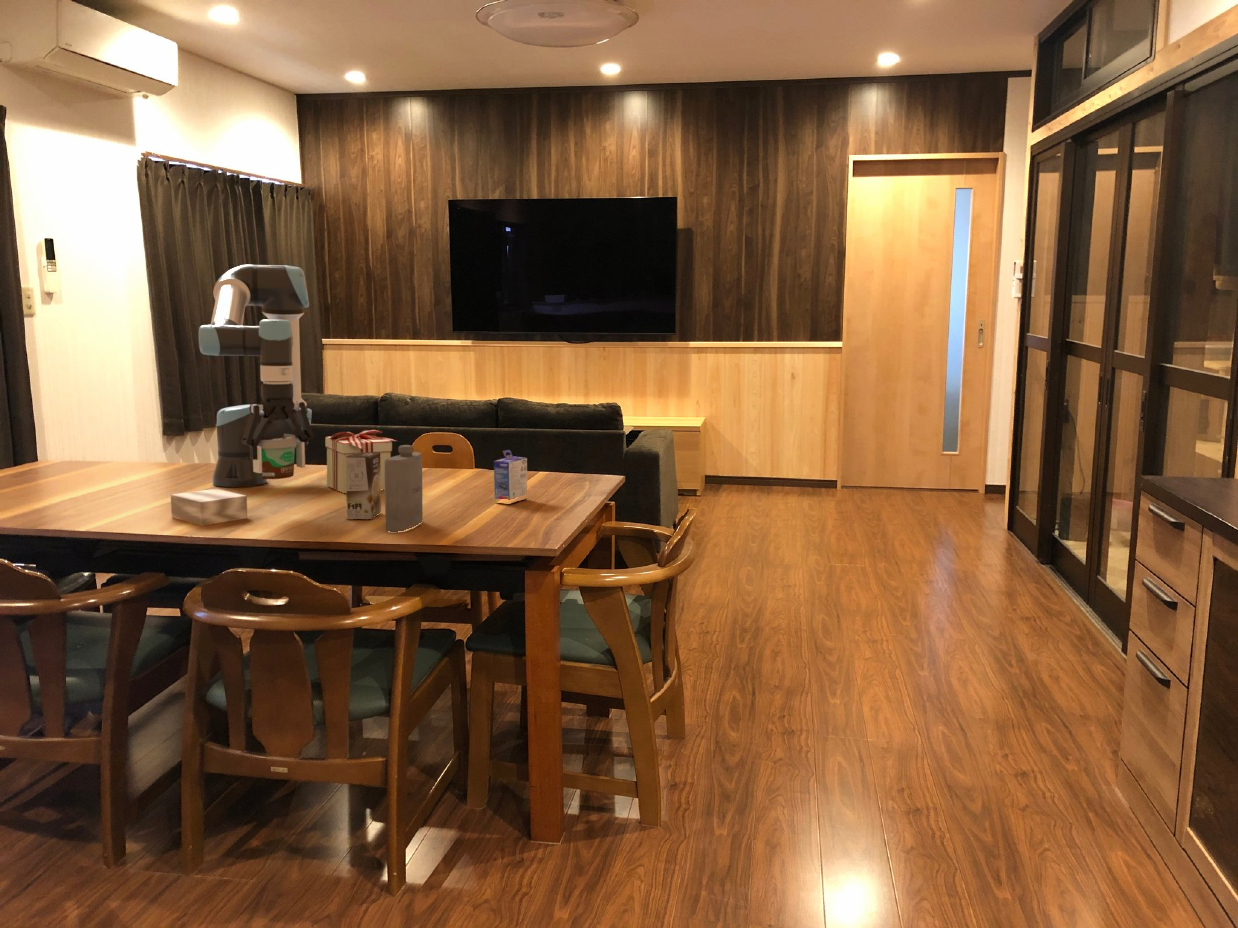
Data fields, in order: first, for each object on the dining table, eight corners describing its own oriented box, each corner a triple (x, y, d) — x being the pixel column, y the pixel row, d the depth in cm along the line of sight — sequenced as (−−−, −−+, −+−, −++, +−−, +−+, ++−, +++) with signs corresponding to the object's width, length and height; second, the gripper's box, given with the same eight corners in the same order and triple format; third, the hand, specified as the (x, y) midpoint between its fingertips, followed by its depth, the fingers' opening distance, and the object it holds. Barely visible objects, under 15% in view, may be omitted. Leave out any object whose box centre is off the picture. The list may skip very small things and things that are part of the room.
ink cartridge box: (511, 497, 272) (511, 447, 270) (528, 499, 270) (528, 449, 268) (492, 503, 264) (493, 451, 261) (509, 505, 261) (510, 453, 259)
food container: (281, 481, 233) (280, 441, 232) (259, 480, 235) (257, 440, 233) (308, 472, 245) (306, 434, 244) (286, 471, 247) (285, 433, 245)
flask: (405, 534, 224) (404, 450, 221) (382, 532, 225) (381, 449, 222) (428, 521, 239) (428, 442, 236) (406, 520, 240) (405, 441, 237)
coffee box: (371, 520, 238) (370, 457, 236) (346, 519, 238) (344, 456, 236) (381, 513, 247) (380, 452, 245) (357, 512, 247) (356, 451, 245)
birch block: (216, 511, 246) (216, 488, 245) (247, 519, 238) (246, 495, 237) (171, 518, 236) (170, 494, 235) (201, 526, 228) (200, 502, 227)
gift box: (350, 496, 268) (348, 436, 266) (322, 487, 282) (320, 429, 280) (404, 490, 280) (403, 432, 277) (374, 481, 293) (373, 426, 291)
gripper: (239, 385, 223) (243, 477, 227) (327, 381, 241) (329, 466, 245) (223, 383, 228) (227, 473, 232) (310, 379, 246) (312, 462, 250)
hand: (279, 469), depth 238 cm, fingers closed on food container, 11 cm apart
